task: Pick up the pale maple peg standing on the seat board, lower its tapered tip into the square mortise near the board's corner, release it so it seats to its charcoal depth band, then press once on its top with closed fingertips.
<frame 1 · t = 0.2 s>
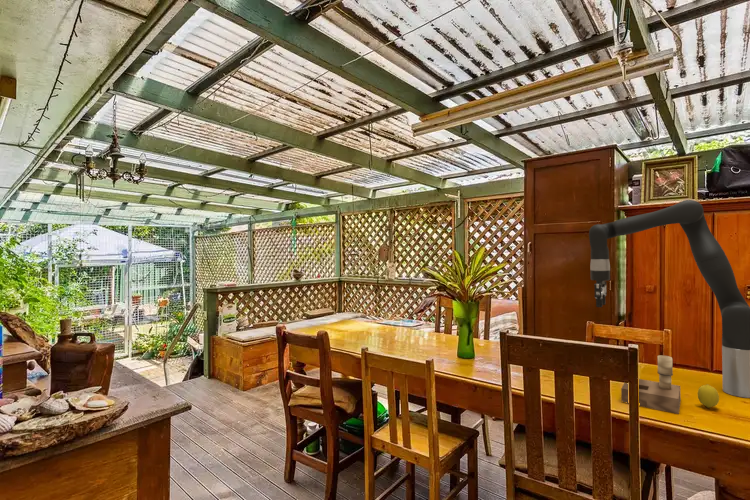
hand: (600, 305, 171), 29 cm above the table, fingers open, 8 cm apart
peg: (665, 387, 137), point 5 cm above the table, touching board
lemon: (708, 408, 131), on the table
board: (651, 401, 138), on the table
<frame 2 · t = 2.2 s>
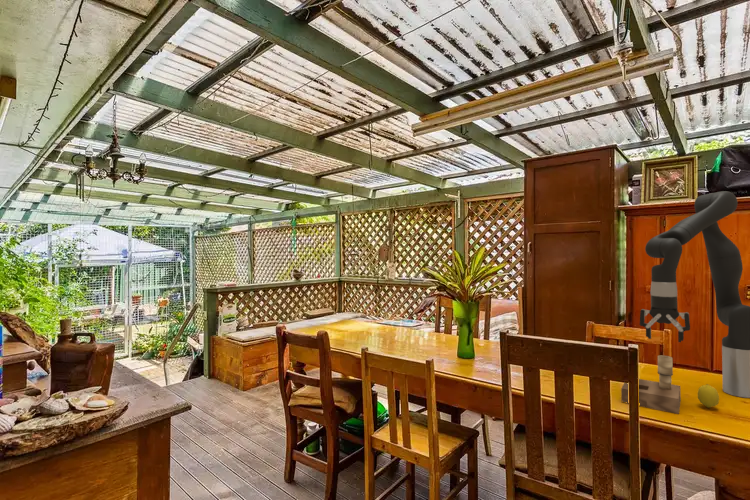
hand: (664, 340, 137), 22 cm above the table, fingers open, 8 cm apart
nothing on the table moved.
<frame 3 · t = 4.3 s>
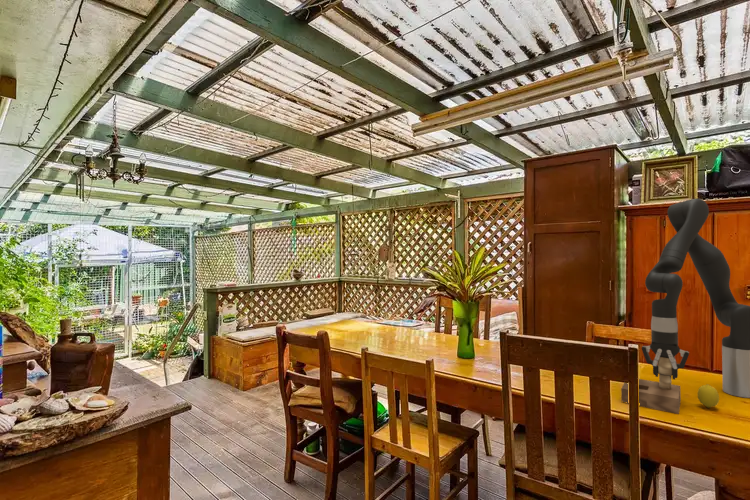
hand: (665, 377, 137), 9 cm above the table, fingers closed on peg, 4 cm apart
peg: (665, 387, 137), point 5 cm above the table, touching board, gripper
everything else where it was.
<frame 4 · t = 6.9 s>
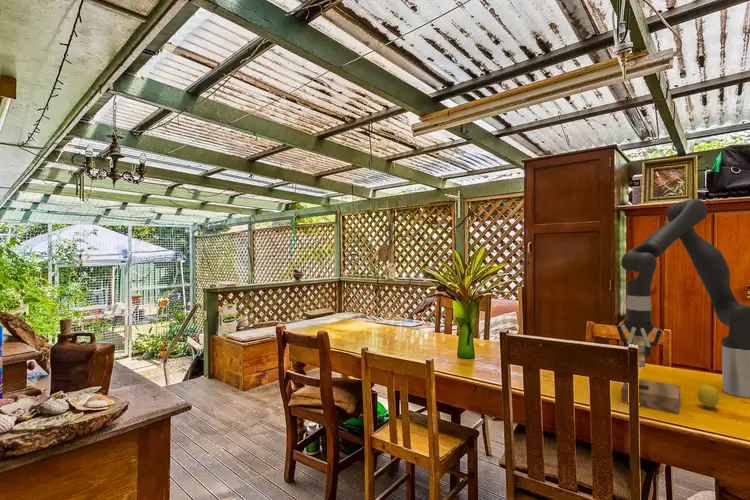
hand: (639, 355, 138), 16 cm above the table, fingers closed on peg, 4 cm apart
peg: (639, 365, 138), point 13 cm above the table, touching gripper
everything else where it was.
when the fingers open (6 cm above the table, at t = 9.4 s): peg drops 2 cm, resting in board.
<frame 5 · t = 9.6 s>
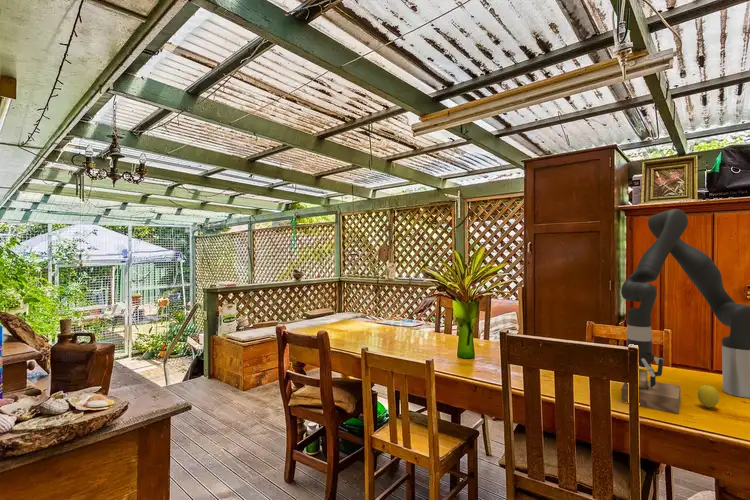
hand: (640, 384, 138), 6 cm above the table, fingers open, 6 cm apart
peg: (640, 400, 138), resting in board
everything else where it was.
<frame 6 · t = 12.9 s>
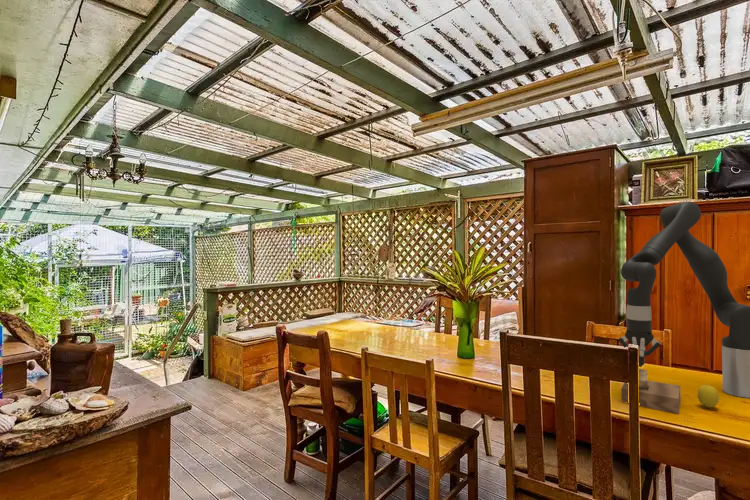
hand: (639, 365, 138), 13 cm above the table, fingers closed
nothing on the table moved.
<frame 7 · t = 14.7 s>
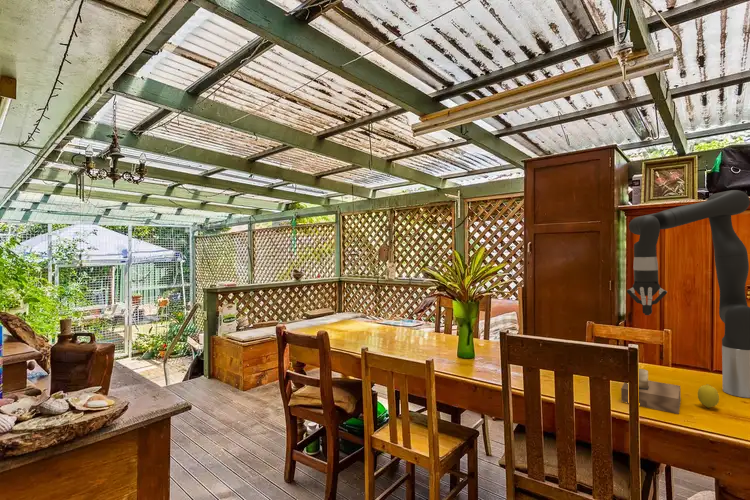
hand: (647, 314, 145), 29 cm above the table, fingers closed
nothing on the table moved.
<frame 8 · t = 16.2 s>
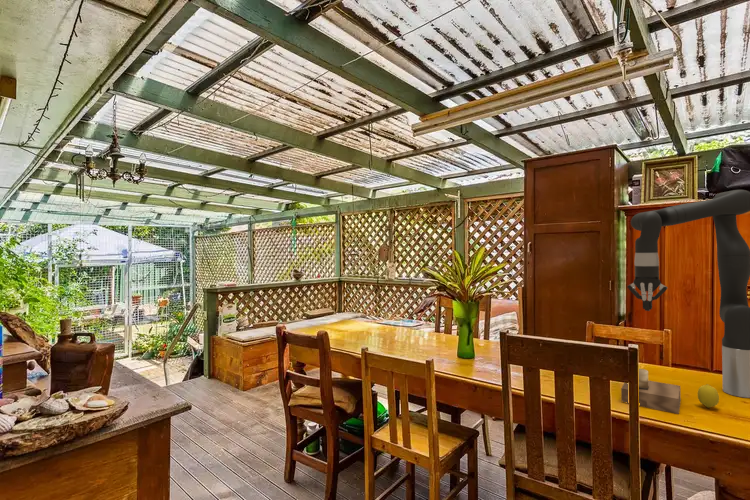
hand: (647, 310, 146), 31 cm above the table, fingers closed
nothing on the table moved.
at the end: peg 0.1 cm from the target spot on the board, point 0.0 cm above the board's base; peg tilted 1°; the gripper is holding nothing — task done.
